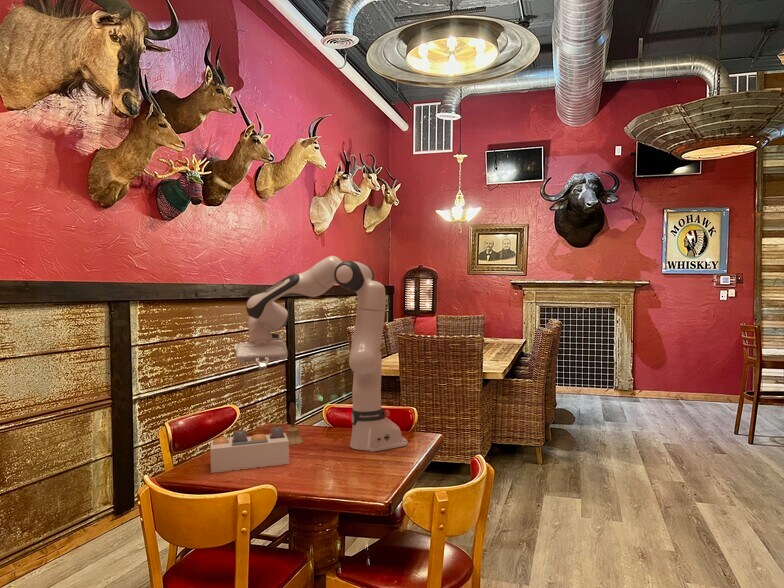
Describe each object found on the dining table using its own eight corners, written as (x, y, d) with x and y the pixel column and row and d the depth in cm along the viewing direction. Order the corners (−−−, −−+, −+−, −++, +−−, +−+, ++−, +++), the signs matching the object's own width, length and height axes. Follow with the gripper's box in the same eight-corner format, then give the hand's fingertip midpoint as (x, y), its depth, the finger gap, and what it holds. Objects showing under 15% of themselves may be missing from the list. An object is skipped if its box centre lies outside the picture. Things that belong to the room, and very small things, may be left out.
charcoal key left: (283, 443, 199) (282, 426, 199) (284, 447, 195) (283, 429, 195) (270, 445, 198) (270, 427, 198) (271, 448, 193) (271, 430, 193)
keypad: (285, 454, 201) (285, 431, 201) (289, 464, 189) (288, 439, 189) (212, 462, 193) (211, 439, 193) (211, 473, 182) (210, 448, 182)
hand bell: (307, 441, 219) (306, 401, 219) (293, 446, 212) (292, 405, 212) (292, 438, 223) (291, 399, 223) (278, 443, 216) (277, 403, 216)
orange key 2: (265, 451, 197) (264, 433, 197) (265, 454, 193) (265, 436, 193) (252, 452, 196) (252, 434, 196) (253, 456, 191) (252, 437, 191)
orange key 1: (227, 455, 193) (227, 437, 193) (227, 458, 189) (227, 440, 189) (214, 456, 192) (214, 438, 192) (214, 460, 188) (213, 441, 188)
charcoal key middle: (246, 447, 195) (245, 429, 195) (246, 451, 191) (246, 432, 191) (233, 449, 194) (233, 430, 194) (233, 452, 190) (233, 433, 190)
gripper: (233, 337, 216) (235, 365, 206) (285, 334, 222) (289, 361, 212) (234, 347, 220) (235, 375, 211) (285, 344, 226) (288, 371, 217)
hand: (262, 368), depth 212 cm, fingers closed
